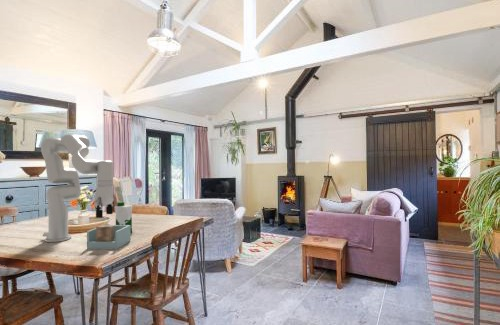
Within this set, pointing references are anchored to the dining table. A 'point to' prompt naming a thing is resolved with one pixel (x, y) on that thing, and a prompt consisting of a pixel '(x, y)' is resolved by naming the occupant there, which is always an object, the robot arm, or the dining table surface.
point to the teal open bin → (120, 238)
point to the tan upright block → (105, 234)
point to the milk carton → (123, 214)
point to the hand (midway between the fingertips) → (104, 215)
